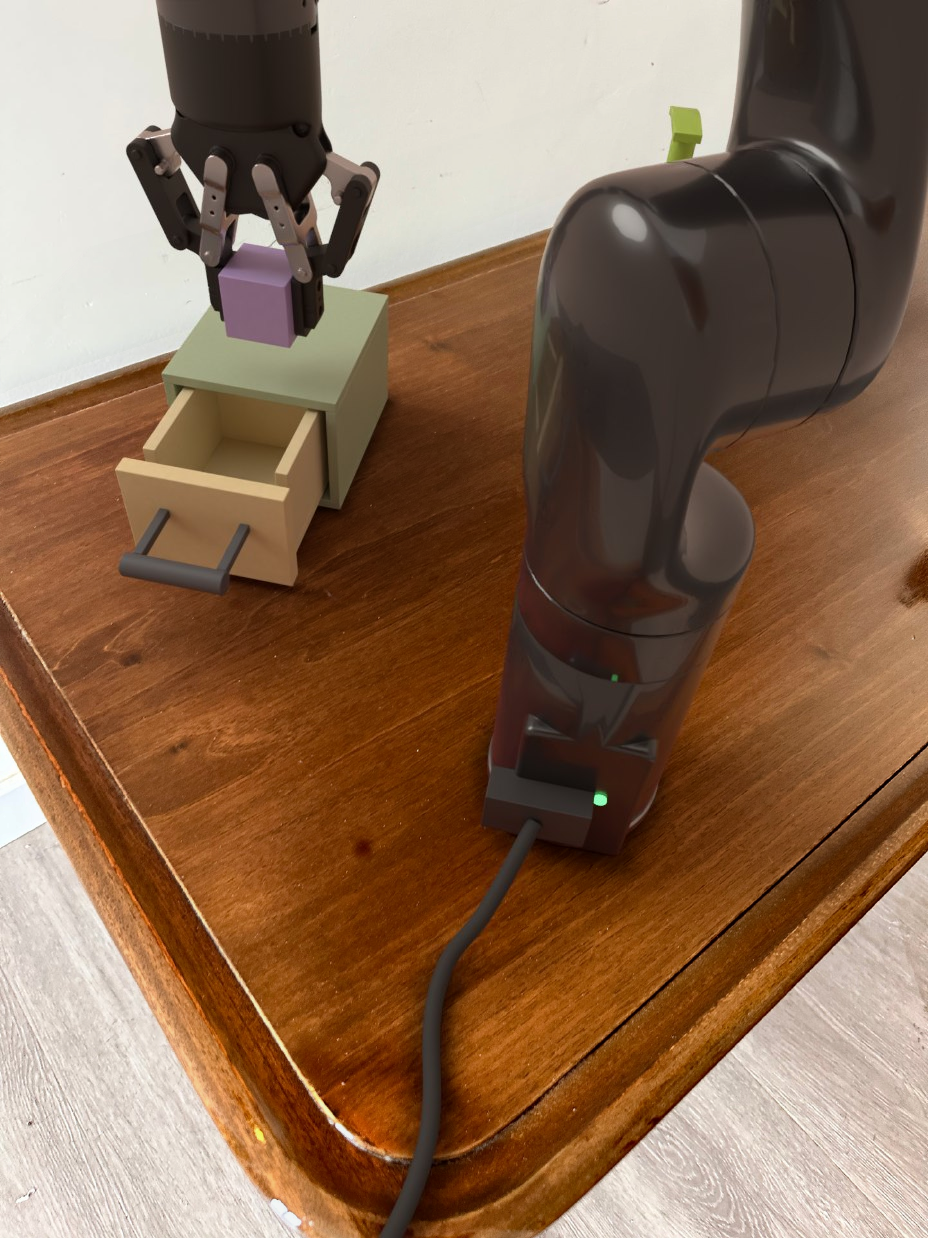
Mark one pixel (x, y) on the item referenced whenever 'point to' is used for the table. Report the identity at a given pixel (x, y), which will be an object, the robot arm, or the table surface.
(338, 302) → the cabinet
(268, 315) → the lilac toy cube
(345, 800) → the table surface
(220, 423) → the drawer
